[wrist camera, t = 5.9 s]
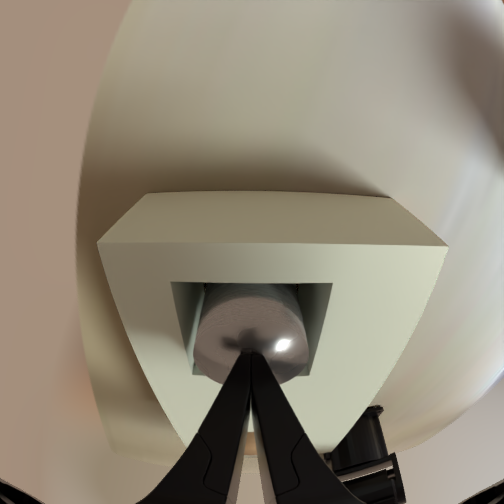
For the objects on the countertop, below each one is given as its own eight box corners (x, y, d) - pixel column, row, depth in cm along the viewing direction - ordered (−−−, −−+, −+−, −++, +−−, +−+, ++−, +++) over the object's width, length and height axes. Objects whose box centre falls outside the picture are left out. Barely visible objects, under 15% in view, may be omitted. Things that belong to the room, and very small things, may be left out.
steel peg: (297, 244, 12) (318, 318, 8) (289, 312, 14) (300, 388, 10) (206, 243, 12) (184, 317, 8) (212, 311, 14) (200, 387, 10)
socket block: (392, 198, 12) (449, 246, 8) (323, 406, 22) (331, 451, 18) (146, 193, 12) (96, 242, 8) (196, 407, 22) (190, 453, 18)
